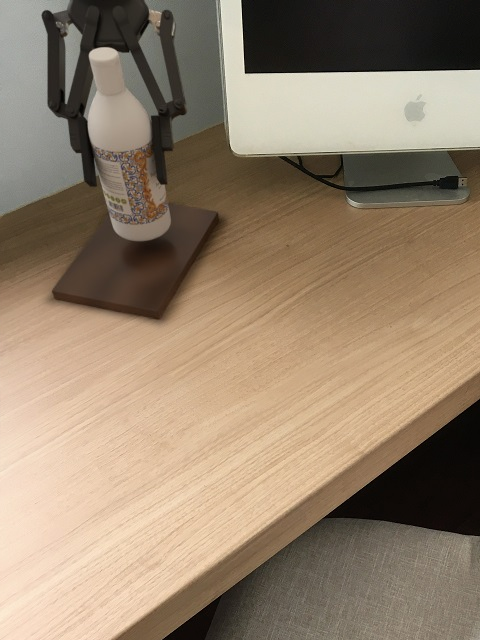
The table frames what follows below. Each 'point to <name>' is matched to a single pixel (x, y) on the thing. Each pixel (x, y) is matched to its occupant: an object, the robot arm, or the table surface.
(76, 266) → the walnut board
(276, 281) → the table surface
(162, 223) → the bath foam
